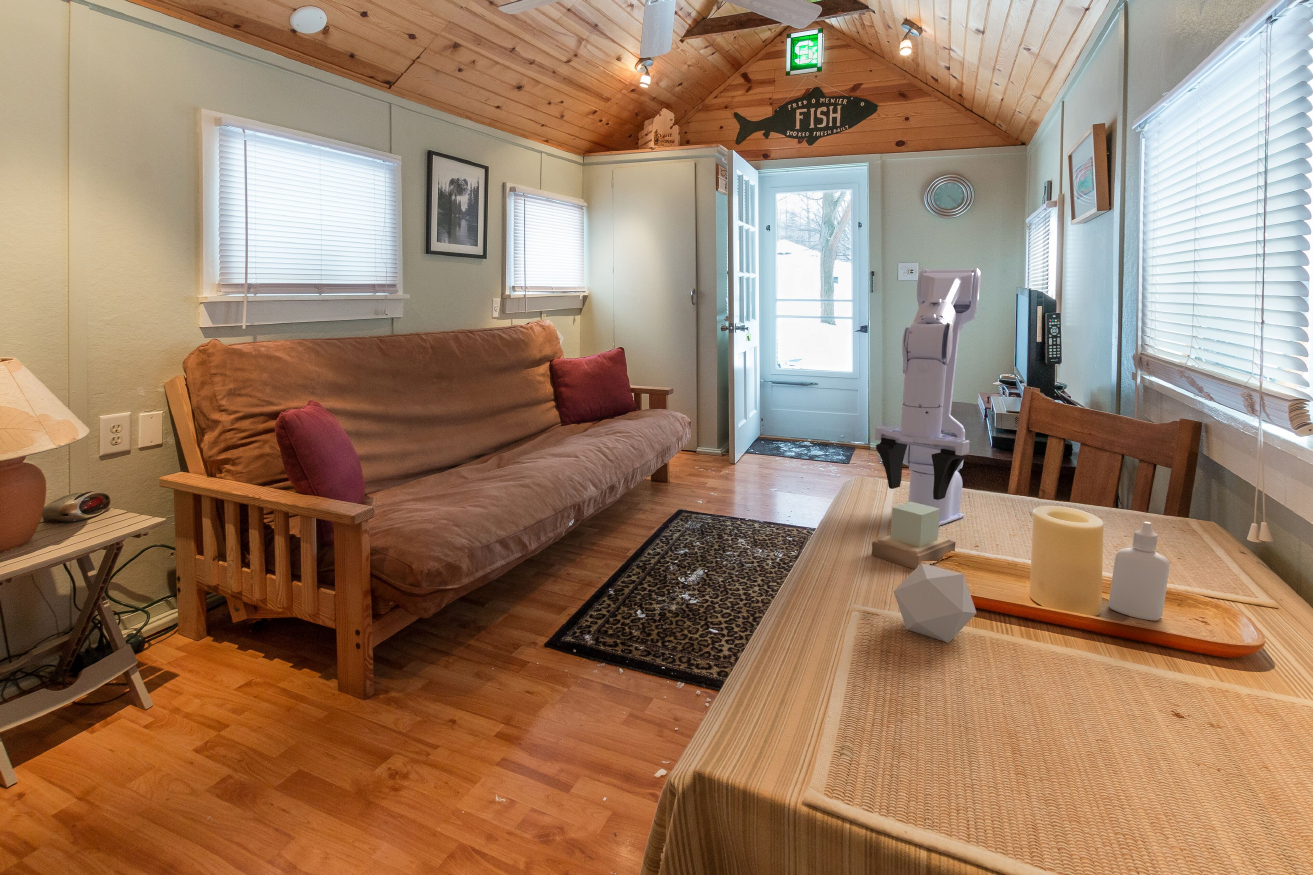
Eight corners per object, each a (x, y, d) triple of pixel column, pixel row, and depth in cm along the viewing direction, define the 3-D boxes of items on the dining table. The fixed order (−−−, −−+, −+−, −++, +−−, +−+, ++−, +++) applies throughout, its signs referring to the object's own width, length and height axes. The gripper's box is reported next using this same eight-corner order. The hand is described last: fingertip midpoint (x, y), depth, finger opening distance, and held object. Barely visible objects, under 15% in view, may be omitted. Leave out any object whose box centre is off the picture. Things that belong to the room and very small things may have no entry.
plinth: (908, 541, 117) (909, 526, 117) (954, 555, 111) (955, 539, 110) (871, 554, 111) (872, 539, 111) (917, 570, 105) (919, 553, 104)
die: (984, 638, 86) (956, 560, 90) (986, 631, 78) (955, 547, 82) (915, 653, 88) (890, 576, 92) (910, 648, 81) (884, 565, 85)
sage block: (908, 531, 114) (910, 501, 113) (937, 540, 110) (940, 508, 109) (890, 538, 111) (892, 507, 110) (919, 547, 107) (922, 515, 106)
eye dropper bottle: (1128, 601, 94) (1140, 514, 92) (1168, 620, 89) (1183, 528, 87) (1101, 605, 93) (1113, 517, 91) (1141, 624, 88) (1155, 531, 85)
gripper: (865, 401, 110) (860, 487, 113) (954, 414, 99) (946, 508, 101) (892, 397, 114) (886, 479, 117) (980, 409, 103) (972, 499, 106)
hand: (916, 492), depth 109 cm, fingers open, 7 cm apart
